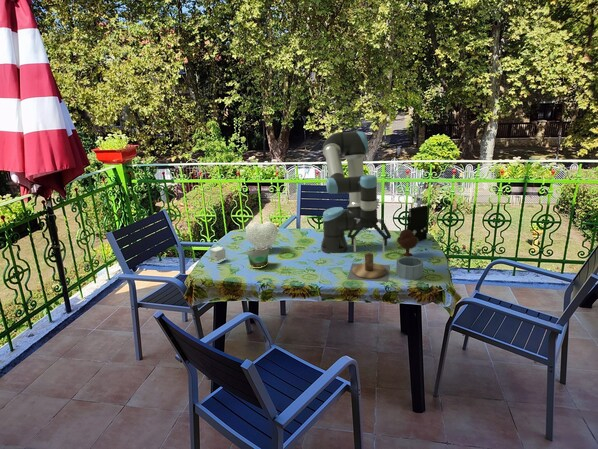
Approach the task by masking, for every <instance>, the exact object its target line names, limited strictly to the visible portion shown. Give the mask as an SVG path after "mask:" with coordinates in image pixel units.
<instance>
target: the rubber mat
mask: <svg viewBox="0 0 598 449" xmlns="http://www.w3.org/2000/svg"><path fill="white" fill-rule="evenodd" d="M359 264H360V263H356V262H355V263H354V262H352V263H351V266H350V269H349V272H348V276H347V281H348V280H349V281H351V280H352V281H366V282H369V281H370V282H385V283H388V282H389V278H390V267H391V265H390V264H380V265H381V266H383V267H385V269H386V274H385V275H384V276H383V277H380V278H377V279H363V278H359V277H357V276H355V275H354V274H353V268H354V267H355V266H356V265H359Z"/></svg>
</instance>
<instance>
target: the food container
mask: <svg viewBox="0 0 598 449" xmlns="http://www.w3.org/2000/svg"><path fill="white" fill-rule="evenodd" d="M269 252H270V247H268V245H267V247H264V248H255V249H254V248H253V249H252V250H249V249H246V255H247V256H248V262H249V266H250V265H251V266H253V267H261V266H264V265H266V264H267V263H268V264H269Z"/></svg>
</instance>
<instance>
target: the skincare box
mask: <svg viewBox="0 0 598 449" xmlns="http://www.w3.org/2000/svg"><path fill="white" fill-rule="evenodd" d="M209 253H210V259H211V258H212V259H214V260H216V261H219V260H221V259H224V258H226V259H227V256H226V249H225V248H224V247H222V246H219V245H217V246H214V247H213V248H210V249H209Z"/></svg>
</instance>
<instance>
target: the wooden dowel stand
mask: <svg viewBox="0 0 598 449" xmlns="http://www.w3.org/2000/svg"><path fill="white" fill-rule="evenodd" d="M358 264H359V265H356V266H355V267H354V268H353V274H354V275H355V276H357V277H359V278H363V279H377V278H380V277H383V276H384V275H385V274H386V269H385V267H383V266H381V265H382V264H379V263H374V254H373V253H371V252H367V253H365V254H364V262H363V263H358Z"/></svg>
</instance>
